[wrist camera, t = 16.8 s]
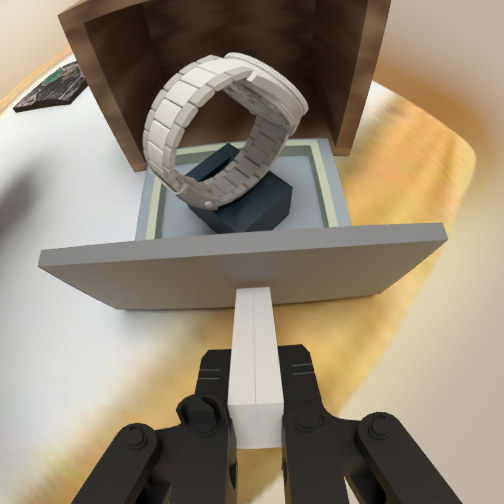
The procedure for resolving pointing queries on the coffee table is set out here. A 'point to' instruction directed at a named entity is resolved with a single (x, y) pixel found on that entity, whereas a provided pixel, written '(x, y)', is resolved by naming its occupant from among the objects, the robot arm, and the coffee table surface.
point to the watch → (227, 157)
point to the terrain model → (55, 89)
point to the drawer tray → (247, 245)
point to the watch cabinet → (220, 44)
